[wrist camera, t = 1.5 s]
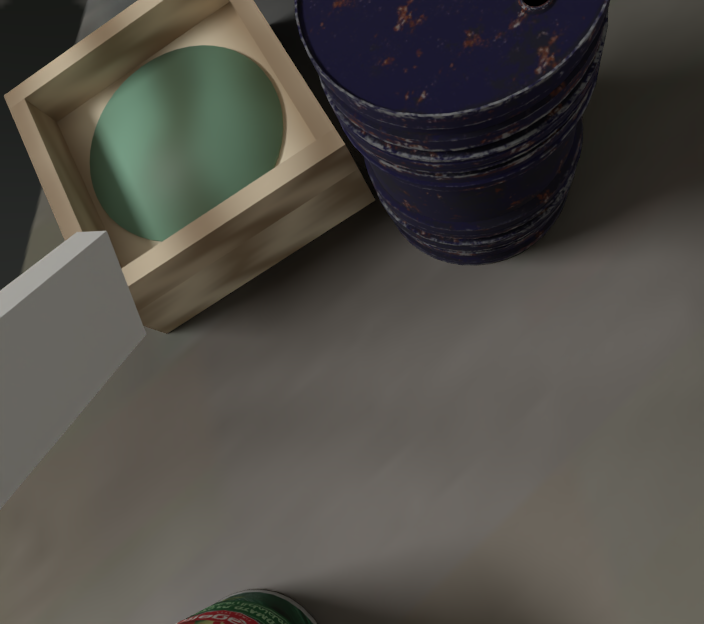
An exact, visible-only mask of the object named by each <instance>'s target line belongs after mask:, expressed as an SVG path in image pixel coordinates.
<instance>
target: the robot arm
mask: <svg viewBox="0 0 704 624" xmlns="http://www.w3.org/2000/svg"><path fill="white" fill-rule="evenodd" d="M145 335H146V332H145V329H144V327H143V324H142V321H141V319H140V316H139V314H138V311H137V308H136V306H135V303H134V300H133V298H132V295H131V293H130V290H129V287H128V285H127V282H126V280H125V277H124V274H123V272H122V269H121V267H120V264H119V261H118V259H117V256H116V254H115V251H114V248H113V246H112V243H111V241H110V238H109V235H108V233H107V231H90V232H76V233H75V234H74V235H72V236H71V237H70V238H68V239H67V240H66V241H65V242H63V243H62V244H61V245H59V246H58V247H57V248H55V249H54V250H53V251H51V252H50V253H49V254H48V255H46V256H45V257H44V258H42V259H41V260H40V261H38V262H37V263H36V264H35V265H33V266H32V267H31V268H29V269H28V270H27V271H25V272H24V273H23V274H21V275H20V276H19V277H18V278H16V279H15V280H14V281H12V282H11V283H10V284H8V285H7V286H6V287H4V288H3V289H2V290H1V291H0V509H1V508H2V507H3V505H4V504H5V503H6V502H7V501H8V499H9V498H10V497H11V496H12V495H13V493H14V492H15V491H16V490H17V489H18V487H19V486H20V485H21V484H22V483H23V481H24V480H25V479H26V478H27V477H28V475H29V474H30V473H31V472H32V471H33V469H34V468H35V467H36V466H37V465H38V463H39V462H40V461H41V460H42V459H43V457H44V456H45V455H46V454H47V453H48V451H49V450H50V449H51V448H52V447H53V445H54V444H55V443H56V442H57V441H58V439H59V438H60V437H61V436H62V435H63V433H64V432H65V431H66V430H67V429H68V427H69V426H70V425H71V424H72V423H73V421H74V420H75V419H76V418H77V417H78V415H79V414H80V413H81V412H82V411H83V409H84V408H85V407H86V406H87V405H88V404H89V402H90V401H91V400H92V399H93V398H94V396H95V395H96V394H97V393H98V392H99V390H100V389H101V388H102V387H103V386H104V384H105V383H106V382H107V381H108V380H109V378H110V377H111V376H112V375H113V374H114V372H115V371H116V370H117V369H118V368H119V366H120V365H121V364H122V363H123V362H124V360H125V359H126V358H127V357H128V356H129V354H130V353H131V352H132V351H133V350H134V348H135V347H136V346H137V345H138V344H139V342H140V341H141V340H142V339H143V338H144V336H145Z"/></svg>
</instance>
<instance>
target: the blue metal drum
mask: <svg viewBox="0 0 704 624" xmlns="http://www.w3.org/2000/svg"><path fill="white" fill-rule="evenodd" d="M609 2H610V0H295V17H296V22H297V26H298V30H299V35H300V38H301V40H302V42H303V44H304V47H305V49H306V51H307V54H308V56H309V58H310V60H311V61H312V63H313V65H314V67H315V69H316V71H317V72H318V74H319V78H320V82H321V85H322V87H323V90H324V92H325V94H326V96H327V99H328V101H329V103H330V105H331V107H332V109H333V111H334V112H335V114H336V116H337V118H338V119H339V122H340V124H341V126H342V128H343V131H344V132H345V134H346V135H347V137H348V138H349V140H350V141H351V143H352V144H353V145H354V147H355V148H356V149H357V150H358V151H359V152H360V153H361V154H362V155H363V156H364V160H365V164H366V168H367V171H368V174H369V176H370V179H371V181H372V183H373V186H374V188H375V190H376V193H377V195H378V197H379V199H380V201H381V203H382V205H383V206H384V208H385V209H386V211H387V212H388V214H389V215H390V217H391V218H392V219H393V221H394V223H395V225H396V226H397V228H398V229H399V231H400V232H401V234H402V235H403V236H404V237H405V238H406V239H407V240H408V241H409V242H410V243H411V244H412V245H414V246H415V247H416V248H418V249H419V250H420V251H421V252H423V253H425V254H427V255H429V256H431V257H433V258H435V259H438V260H441V261H444V262H447V263H453V264H459V265H483V264H491V263H495V262H498V261H502V260H505V259H508V258H510V257H512V256H515V255H517V254H519V253H521V252H523V251H524V250H526V249H527V248H529V247H530V246H532V245H533V244H535V243H536V242H537V241H538V240H539V239H540V238H541V237H543V236H544V235H545V234H546V232H547V231H548V230H549V229H550V228H551V226H552V225H553V224H554V223H555V221H556V219H557V218H558V216H559V214H560V213H561V211H562V208H563V206H564V203H565V201H566V198H567V194H568V191H569V188H570V186H571V183H572V180H573V178H574V175H575V171H576V166H577V163H578V160H579V158H580V153H581V148H582V143H583V123H582V114H583V112H584V111H585V109H586V107H587V106H588V104H589V101H590V99H591V96H592V93H593V91H594V88H595V86H596V81H597V76H598V71H599V66H600V60H601V56H602V51H603V47H604V42H605V37H606V32H607V27H608V7H609Z"/></svg>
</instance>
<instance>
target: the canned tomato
mask: <svg viewBox="0 0 704 624" xmlns="http://www.w3.org/2000/svg"><path fill="white" fill-rule="evenodd" d="M177 624H317V623H316V621H315V620H314V618H313V617H312V616H311V615H310V614H309V613H308V612H307V611H306V610H305V609H304V608H303V607H302V606H301V605H299V604H298V603H296V602H295V601H293V600H292V599H290V598H289V597H286V596H284V595H282V594H279V593H277V592H273V591H268V590H262V589H258V590H245V591H241V592H237V593H234V594H231V595H229V596H227V597H225V598H224V599H222V600H220V601H218V602H217V603H215V604H213V605H211V606H209V607H207V608H205V609H204V610H202V611H200V612H198V613H196V614H194V615H192V616H190V617H188V618H186V619H184V620H182V621H180V622H178V623H177Z"/></svg>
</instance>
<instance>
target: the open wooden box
mask: <svg viewBox="0 0 704 624" xmlns="http://www.w3.org/2000/svg"><path fill="white" fill-rule="evenodd" d="M4 97H5V99H6V102H7V104H8V107H9V109H10V111H11V114H12V116H13V118H14V121H15V123H16V125H17V128H18V130H19V133H20V135H21V137H22V140H23V142H24V144H25V147H26V149H27V151H28V154H29V156H30V159H31V161H32V163H33V166H34V168H35V170H36V173H37V175H38V178H39V180H40V182H41V185H42V187H43V190H44V192H45V194H46V197H47V199H48V201H49V204H50V206H51V209H52V211H53V213H54V216H55V218H56V220H57V223H58V225H59V227H60V230H61V232H62V235H63V237H64V239H65V241H66V240H67V239H68V238H70V237H71V236H72V235H74V234H75V233H76V232H90V231H107V233H108V235H109V238H110V241H111V243H112V246H113V248H114V251H115V254H116V256H117V259H118V261H119V264H120V267H121V269H122V272H123V274H124V277H125V280H126V282H127V285H128V287H129V290H130V293H131V295H132V298H133V300H134V303H135V306H136V308H137V311H138V314H139V316H140V319H141V321H142V324H143V326H146V327H149V328H151V329H154V330H157V331H160V332H163V333H166V334H167V333H169V332H170V331H172V330H173V329H175V328H177V327H178V326H180V325H181V324H183V323H184V322H186V321H187V320H189V319H191V318H192V317H194V316H195V315H197V314H198V313H200V312H202V311H203V310H205V309H206V308H208V307H209V306H211V305H212V304H214V303H216V302H217V301H219V300H220V299H222V298H223V297H225V296H227V295H228V294H230V293H231V292H233V291H234V290H236V289H237V288H239V287H241V286H242V285H244V284H245V283H247V282H248V281H250V280H252V279H253V278H255V277H256V276H258V275H259V274H261V273H262V272H264V271H266V270H267V269H269V268H270V267H272V266H273V265H275V264H277V263H278V262H280V261H281V260H283V259H284V258H286V257H287V256H289V255H291V254H292V253H294V252H295V251H297V250H298V249H300V248H302V247H303V246H305V245H306V244H308V243H309V242H311V241H312V240H314V239H316V238H317V237H319V236H320V235H322V234H323V233H325V232H327V231H328V230H330V229H331V228H333V227H334V226H336V225H337V224H339V223H341V222H342V221H344V220H345V219H347V218H348V217H350V216H352V215H353V214H355V213H356V212H358V211H359V210H361V209H362V208H364V207H366V206H367V205H369V204H370V203H372V202H373V201H375V198H374V197H373V195H372V193H371V191H370V189H369V187H368V185H367V184H366V182H365V180H364V178H363V176H362V174H361V173H360V171H359V169H358V167H357V165H356V163H355V162H354V160H353V158H352V156H351V154H350V152H349V150H348V149H347V147H346V145H345V143H344V142H343V140H342V139H341V137H340V135H339V134H338V132H337V131H336V129H335V128H334V126H333V124H332V123H331V121H330V120H329V118H328V117H327V115H326V113H325V112H324V110H323V109H322V107H321V106H320V104H319V102H318V101H317V99H316V98H315V96H314V95H313V93H312V92H311V90H310V88H309V87H308V85H307V84H306V82H305V81H304V79H303V77H302V76H301V74H300V73H299V71H298V70H297V68H296V66H295V65H294V63H293V62H292V60H291V59H290V57H289V55H288V54H287V52H286V51H285V49H284V48H283V46H282V44H281V43H280V41H279V40H278V38H277V37H276V35H275V34H274V32H273V30H272V29H271V27H270V26H269V24H268V23H267V21H266V19H265V18H264V16H263V15H262V13H261V12H260V10H259V8H258V7H257V5H256V4H255V2H254V1H253V0H138V1H136V2H135V3H134V4H132V5H131V6H129V7H128V8H127V9H125V10H124V11H122V12H121V13H119V14H118V15H117V16H115V17H114V18H112V19H111V20H110V21H108V22H107V23H105V24H104V25H103V26H101V27H100V28H98V29H97V30H96V31H94V32H93V33H91V34H90V35H88V36H87V37H86V38H84V39H83V40H81V41H80V42H79V43H77V44H76V45H74V46H73V47H72V48H70V49H69V50H67V51H66V52H65V53H63V54H62V55H61V56H59V57H58V58H56V59H55V60H53V61H52V62H50V63H49V64H48V65H46V66H45V67H43V68H42V69H41V70H39V71H38V72H36V73H35V74H34V75H32V76H31V77H29V78H28V79H27V80H25V81H24V82H23V83H21V84H19V85H18V86H17V87H15V88H14V89H12V90H11V91H10V92H8V93H7V94H5V95H4Z"/></svg>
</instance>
